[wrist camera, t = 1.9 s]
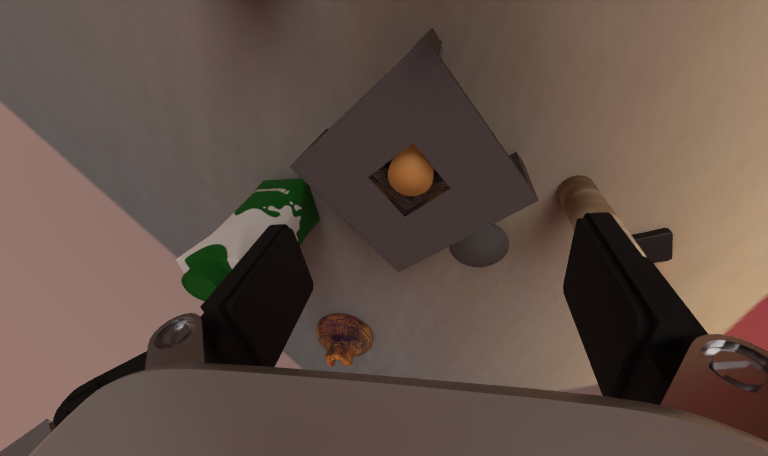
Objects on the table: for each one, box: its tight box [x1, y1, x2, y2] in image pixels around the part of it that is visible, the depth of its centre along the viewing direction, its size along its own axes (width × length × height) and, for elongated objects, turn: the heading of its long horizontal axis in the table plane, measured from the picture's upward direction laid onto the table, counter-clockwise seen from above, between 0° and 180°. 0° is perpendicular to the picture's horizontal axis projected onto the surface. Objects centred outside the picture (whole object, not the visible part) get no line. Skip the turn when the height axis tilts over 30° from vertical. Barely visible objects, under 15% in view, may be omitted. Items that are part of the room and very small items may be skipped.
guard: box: [290, 28, 538, 272], centre depth 36 cm, size 18×18×9 cm
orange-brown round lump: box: [388, 143, 434, 196], centre depth 35 cm, size 5×5×4 cm
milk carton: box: [176, 179, 320, 301], centre depth 40 cm, size 9×9×20 cm
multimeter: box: [631, 228, 673, 263], centre depth 44 cm, size 18×12×3 cm, turn 20°
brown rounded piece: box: [317, 314, 373, 366], centre depth 63 cm, size 12×12×7 cm
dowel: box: [557, 176, 646, 257], centre depth 33 cm, size 4×4×16 cm
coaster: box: [451, 224, 508, 267], centre depth 46 cm, size 8×8×1 cm
